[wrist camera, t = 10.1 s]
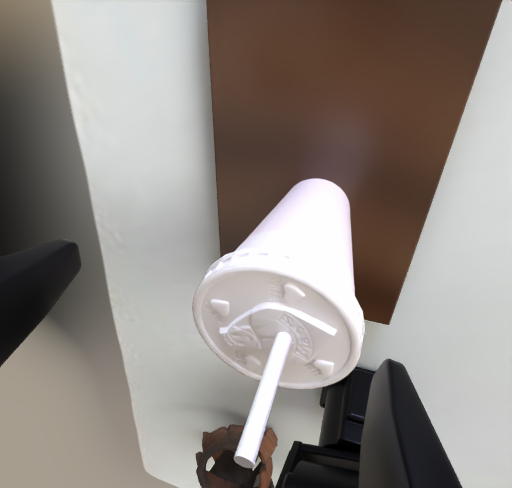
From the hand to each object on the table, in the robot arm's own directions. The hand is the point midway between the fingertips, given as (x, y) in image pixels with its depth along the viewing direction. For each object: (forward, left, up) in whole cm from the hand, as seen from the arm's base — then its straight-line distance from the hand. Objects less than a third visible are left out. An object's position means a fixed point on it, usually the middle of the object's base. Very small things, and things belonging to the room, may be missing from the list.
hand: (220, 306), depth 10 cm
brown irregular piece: (-36, +3, -13) cm, 38 cm away
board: (-1, -1, -13) cm, 13 cm away
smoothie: (-3, -1, -12) cm, 12 cm away
